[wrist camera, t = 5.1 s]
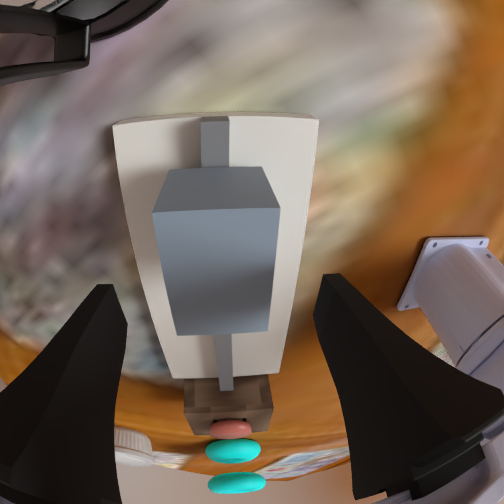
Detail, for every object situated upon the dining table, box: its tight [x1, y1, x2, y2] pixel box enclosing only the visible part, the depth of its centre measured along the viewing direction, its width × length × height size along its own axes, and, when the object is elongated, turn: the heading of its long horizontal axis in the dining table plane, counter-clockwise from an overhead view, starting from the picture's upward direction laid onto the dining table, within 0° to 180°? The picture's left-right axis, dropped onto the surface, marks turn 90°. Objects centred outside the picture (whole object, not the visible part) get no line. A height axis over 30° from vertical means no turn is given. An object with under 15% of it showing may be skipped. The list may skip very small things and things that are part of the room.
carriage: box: [152, 166, 281, 336], centre depth 13 cm, size 4×6×5 cm, turn 178°
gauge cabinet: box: [184, 374, 274, 435], centre depth 26 cm, size 8×7×5 cm
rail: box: [113, 112, 319, 391], centre depth 18 cm, size 10×22×3 cm, turn 178°
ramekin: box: [114, 426, 155, 467], centre depth 36 cm, size 11×11×5 cm
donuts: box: [205, 439, 266, 494], centre depth 40 cm, size 10×10×10 cm
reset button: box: [210, 418, 251, 439], centre depth 25 cm, size 4×4×5 cm
